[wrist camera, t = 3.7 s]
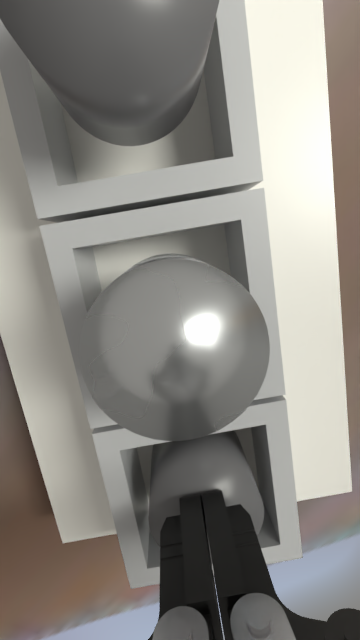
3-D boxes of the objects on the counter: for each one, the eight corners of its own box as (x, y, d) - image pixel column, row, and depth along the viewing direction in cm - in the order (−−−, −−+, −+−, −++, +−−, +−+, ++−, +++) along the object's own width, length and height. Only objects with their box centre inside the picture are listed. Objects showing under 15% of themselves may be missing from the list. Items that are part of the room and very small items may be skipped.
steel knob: (226, 243, 10) (258, 242, 7) (243, 367, 11) (278, 424, 8) (93, 265, 10) (58, 277, 7) (121, 389, 11) (102, 455, 8)
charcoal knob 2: (235, 406, 15) (257, 456, 11) (246, 485, 16) (270, 553, 12) (143, 422, 15) (138, 477, 11) (160, 501, 16) (159, 573, 12)
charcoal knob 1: (189, -40, 9) (205, -226, 5) (212, 133, 9) (239, 72, 6) (31, -14, 9) (-57, -183, 5) (69, 157, 9) (16, 109, 6)
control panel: (297, 1, 14) (373, -135, 9) (332, 465, 18) (393, 545, 13) (-54, 59, 13) (-179, -46, 9) (73, 511, 18) (40, 609, 13)
